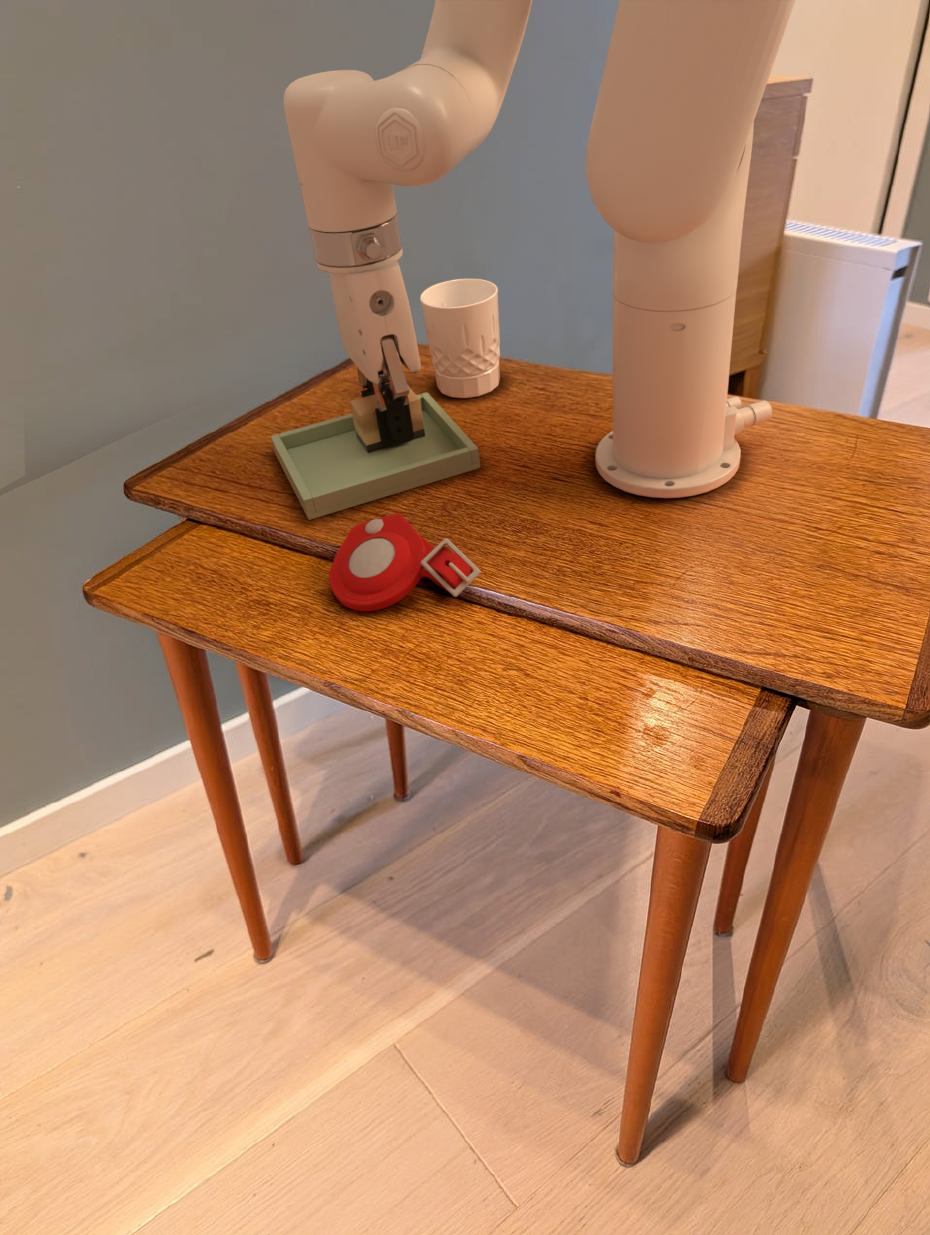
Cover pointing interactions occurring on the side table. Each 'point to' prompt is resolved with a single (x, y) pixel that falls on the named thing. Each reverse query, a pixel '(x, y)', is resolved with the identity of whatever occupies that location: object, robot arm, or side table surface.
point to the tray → (369, 461)
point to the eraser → (369, 426)
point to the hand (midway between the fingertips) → (390, 431)
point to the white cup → (463, 336)
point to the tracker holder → (393, 564)
